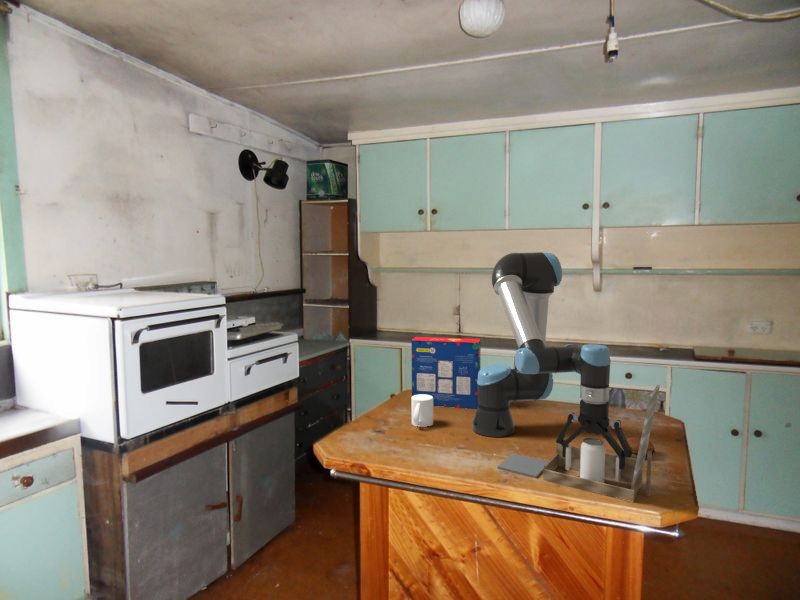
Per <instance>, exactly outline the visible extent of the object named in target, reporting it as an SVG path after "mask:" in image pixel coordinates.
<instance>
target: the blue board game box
mask: <svg viewBox="0 0 800 600" xmlns="http://www.w3.org/2000/svg"><path fill="white" fill-rule="evenodd" d="M481 343H482V341H481V339H480V338H454V337H429V336H428V337H426V336H424V337H423V336H422V337H421V336H415V337H413V338H412V339H411V397H412V396H414V395H418V394H427V395H431V396H433V407H435V406H444V407H443V408H450V407H455V408H454V409H465V408H467V409H469V410H477V408H478V384H477V380H478V372H479V371H480V369H481ZM467 409H466V410H467Z"/></svg>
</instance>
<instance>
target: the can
mask: <svg viewBox="0 0 800 600" xmlns="http://www.w3.org/2000/svg"><path fill="white" fill-rule="evenodd" d="M580 447H581V459H580V471H579V477H580V478H584V479H589V480H593V481H597V482H601V483H605V478H606V477H605V453H606V446H605V442H604V441H603V440H602V439H600V438H596V437H584V438H583V439H582V442H581V444H580Z"/></svg>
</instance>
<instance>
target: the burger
mask: <svg viewBox="0 0 800 600" xmlns="http://www.w3.org/2000/svg"><path fill="white" fill-rule="evenodd" d="M626 439H627V442H628V444H629V446H630V448H631V450H632V452H633V454H632V456H631V457H630V458H634V459H637V456H638V451H639V446H640V441H641V437H639V438H638V437H629V438H626ZM620 447H621V448H622V446H621V445H620ZM622 449H623V448H622ZM655 449H656V448H655V445H654V444H653V443H652V441H651V440H649V441H648V446H647V451H646V456H645V459H647V453H648V451H652V457H653V456H654V454H656V450H655ZM623 451H624V450H623Z"/></svg>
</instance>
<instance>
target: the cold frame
mask: <svg viewBox="0 0 800 600" xmlns="http://www.w3.org/2000/svg"><path fill="white" fill-rule="evenodd" d="M660 386H661V385H659V384H657V385H656V386H655V387H654V389H653V390H652V392H651V393H650V394H649V396H648V402H647V407H646V411H645V417H644V422H643V426H642V432H641V437H640V438H641V441H640V446H639V451H638V456H637V458H631V457H630V458H625V467H624V469H623V470H622V469H621V476H620V480H619V481H622V482H626V483H630V484H631V485H630V486H631V487H630V488H625V487H623V486H622V487H621V486H617V485H613V484H611V483H610V484H609V483H605V482H604V483H601V482H597V481H593V480H589V479H584V478H580V476H575V475H572V474H566V473H563V472H558V471H556V470H557V468H558V467H561V468H566V457H563V455H562V450H563V447H562V445H561V444H558V443H556V453H554V455H553V456H551V458H550V459H549V460H547V461H548V462H547V463H546V464H545V465H544V470H543V472H542V481H546V482H550V483H554V482H555V483H554V484H558V483H559V484H558V485H562V484H563V485H562V486H566V485H567V486H566V487H570V486H571V487H570V488H574V487H575V489H578V488H579V489H578V490H582V489H583V490H582V491H586V490H587V492H590V493H594V492H595V494H598V493H600V494H599V495H602V494H604V495H603V496H606V495H608V496H607V497H610V496H613V497H612V498H614V497H617V498H616V499H618V498H621V499H620V500H622V499H625V500H624V501H626V500H630V501H634V502H635V500H636V498H635V497H637V496H638V494H639V492H640V490H639V489H641V487H642V485H643V474H644V473H643V470H644V469H643V468H644V465H645V460H646V483H645V497H647V496H649V497H650V496H651V485H652V484H651V483H652V481H651V480H652V479H651V477H652V459H653V456H652V451H648V453H647V458H645V456H646V451H647V446H648V441H650V436H651V430H652V428H653V427H652V426H653V421H654V416H655V412H656V408H657V407H656V406H657V402H658V397H659V391H660V388H661V387H660ZM617 456H618V455H617V454H616V453H615V454H614V453H609V452H605V478H609V479H613V480H615V476H616V457H617ZM580 459H581V446H575V445H571V467H570V469H569V470H575V471H578V472H580ZM638 491H639V492H638ZM637 493H638V494H637ZM636 495H637V496H636ZM634 499H635V500H634ZM630 501H629V502H630Z"/></svg>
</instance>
